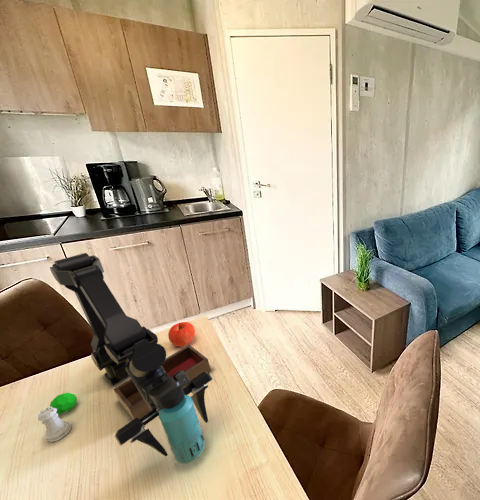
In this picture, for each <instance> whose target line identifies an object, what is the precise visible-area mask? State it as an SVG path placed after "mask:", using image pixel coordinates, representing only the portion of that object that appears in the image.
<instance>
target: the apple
mask: <svg viewBox="0 0 480 500" xmlns="http://www.w3.org/2000/svg"><path fill="white" fill-rule="evenodd" d="M167 334H168V335H167V337H168V339H169V342H170V343H171V344H172V345H174V346H176V347H186V346H188V345H190V343H191V342H192V341H193V340H194V338H195V335H196V328H195V326H194V325H193V324H192V323H191V322H189V321H181V322H178V323H175V324H174V325H172V326H171V327H170V329H169V330H168V333H167Z"/></svg>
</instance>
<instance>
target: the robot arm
mask: <svg viewBox="0 0 480 500" xmlns="http://www.w3.org/2000/svg"><path fill="white" fill-rule="evenodd" d="M49 270H50V272H51V274H52V277H53V278H54V279H55V281H56V282H57V283H58V284H59V285H61V286H64V287H65V288H66V289H67V290H70V291H72V292H74V294H75V296H76V299H77V301H78V303H79V305H80V307H81V309H82V312H83V314H84V316H85V318H86V320H87V322H88V324H89V327H90V329H91V331H92V333H93V338H92V340H91V342H90V347H91V349H92V352H90V353H91V354H90V358H91V360H92V362H93V364H94V365H95V366H96V367H97V369H98V370H99V371H102V370H103V369H104V370H105V373H104V377H105V379H107V381H108V382H109V384H110V385H112V386H115V385H116V384H118V383H120V382H121V381H123V380H125V379H127V378H128V377H129V378H130V379H132V381H133V383H134V384H135V386H136V388H137V389H138V391H139V392H140V394H141V396H142V397H143V399H144V401H145V402H146V404H147V405H148V407H149V409H150V410H151V412H149V413H148V414H146V415H145V416H143V417H142V418H141V419H138V418H135V419H134V420H133V419H132V420H131V421H130V422H128V423H126V424H124V426H122V427H120V429H117V430H116V432H115V434H114V439H115V440H116V442H117V443H118V446H121V447H122V446H123V445H124V444H125V443H127V442H129V443H130V444H133V443H135V442H136V441H138V442H140V443H142V444H144V445H147V446H149V447H150V448H152V449H153V450H155V451H157V452H158V453H160V454H161V455H163V456H164V457H168V456H169V454H168V452H167V450H166V448H165V447H164V446H163V445H162V443H160V441H159V440H158V439H157V438H156V437H155V436H154V434H153V433H152V432H151V430H150V428H145V427H146V425H148V424H149V423H150V422H152V421H154V420H155V419H156V418H157V417H159V411H160V410H162V409H164V407H163V406H162V403H161V398H162V397H163V396H165V395H166V394H167V393H168V392H170V391H171V390H173V389H175V388H177V387H178V386H180V387H181V388H183V387H185V386H186V385H187V387H185V388H184V389H182V390H183V392H184V395H188V396H189V394H191V396H190V397H191V398H192V400H193V405H194V407H195V409H196V411H197V413H198V414H199V415H200V418H201V419H202V421H203V422H204V423H205V424H208V423H209V418H208V412H207V407H206V402H205V401H206V400H205V393H206V390H207V389H208V388H209V385H208V383H209V382H211V381H212V380H213V377H212V375H211V374H210V372H209V373H208V372H205V371H204V372H202V373H201V374H199V375H198V376H197V377H195V378H194V379H192V380H191V381H190V380H189V378H188V376H187V375H186V374H185V372H184V371H183V370H180V371H179V372H177V373H176V374H174V375H173V378H170V377H169V375H168V374H167V372H166V371H165V370H164V368H163V366H162V364H163V363H164V361H165V359H166V358H167V351H166V348H165V346H163V345H162V344H160V343H158V342H159V338H158V335H157V334H156V333H154V332H153V331H152V330H150V329H149V328H147V327H146V326H142V324H141V323H140V322H139V320H137V319H136V318H133V317H131V316H128V315H127V314H126V313H125V311H124V309H123V308H122V307H121V305H120V303H119V302H118V300H117V298H116V297H115V295H114V294H113V293H112V290H111V289H110V288H109V286H108V284H107V283H106V281H105V277H104V272H105V270H104V267H103V265H102V263H101V260H100V258H99V257H97V255H89V254H88V253H87V252H83V253H79V254H75V255H72V256H68V257H65V258H61V259H58V260H54V261H53V264H52V266H49Z"/></svg>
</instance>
